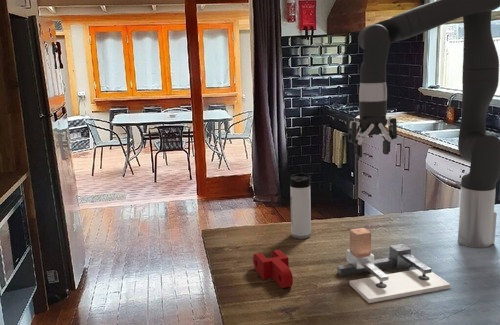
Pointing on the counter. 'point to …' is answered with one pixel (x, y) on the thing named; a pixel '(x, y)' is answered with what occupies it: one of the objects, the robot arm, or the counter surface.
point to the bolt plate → (398, 285)
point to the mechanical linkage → (274, 268)
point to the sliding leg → (363, 253)
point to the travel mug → (300, 206)
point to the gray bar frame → (390, 262)
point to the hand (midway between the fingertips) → (372, 155)
